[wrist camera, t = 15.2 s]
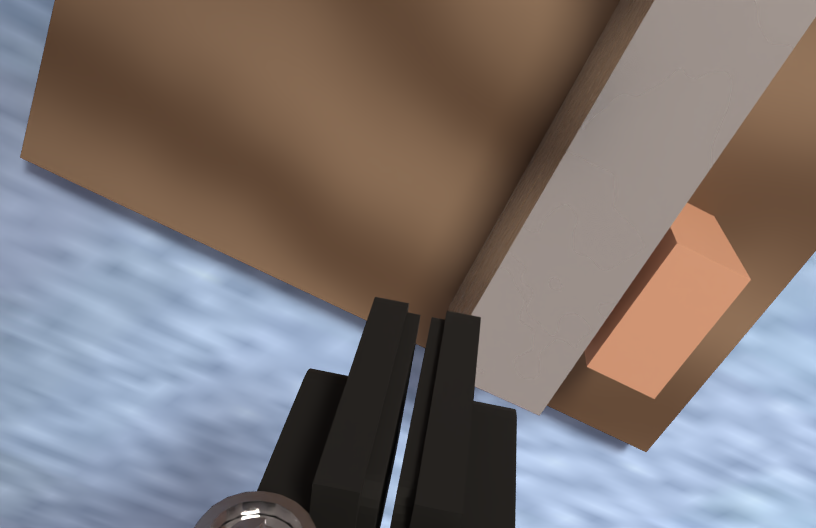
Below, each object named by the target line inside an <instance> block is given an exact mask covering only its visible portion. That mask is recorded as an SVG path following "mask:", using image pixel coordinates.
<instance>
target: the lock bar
mask: <svg viewBox="0 0 816 528" xmlns="http://www.w3.org/2000/svg"><path fill="white" fill-rule="evenodd" d="M815 17H816V0H620V2H619V4H618V6H617V7H616V9H615V11H614V13H613V14H612V16H611V18H610V20H609V22H608V23H607V25H606V27H605V29H604V31H603V32H602V34H601V36H600V38H599V39H598V41H597V43H596V45H595V47H594V48H593V50H592V52H591V54H590V55H589V57H588V59H587V61H586V63H585V64H584V66H583V68H582V70H581V72H580V73H579V75H578V77H577V79H576V80H575V82H574V84H573V86H572V88H571V89H570V91H569V93H568V95H567V96H566V98H565V100H564V102H563V104H562V105H561V107H560V109H559V111H558V112H557V114H556V116H555V118H554V120H553V121H552V123H551V125H550V127H549V129H548V130H547V132H546V134H545V136H544V137H543V139H542V141H541V143H540V145H539V146H538V148H537V150H536V152H535V153H534V155H533V157H532V159H531V161H530V162H529V164H528V166H527V168H526V169H525V171H524V173H523V175H522V177H521V178H520V180H519V182H518V184H517V186H516V187H515V189H514V191H513V193H512V194H511V196H510V198H509V200H508V202H507V203H506V205H505V207H504V209H503V210H502V212H501V214H500V216H499V218H498V219H497V221H496V223H495V225H494V226H493V228H492V230H491V232H490V234H489V235H488V237H487V239H486V241H485V243H484V244H483V246H482V248H481V250H480V251H479V253H478V255H477V257H476V259H475V260H474V262H473V264H472V266H471V267H470V269H469V271H468V273H467V275H466V276H465V278H464V280H463V282H462V284H461V285H460V287H459V289H458V291H457V292H456V294H455V296H454V298H453V300H452V301H451V303H450V305H449V311H452V312H457V313H462V314H467V315H473V316H478V317H481V324H480V335H479V345H478V356H477V367H476V377H475V387H477V388H479V389H481V390H484V391H486V392H488V393H490V394H493V395H495V396H497V397H499V398H501V399H504V400H506V401H508V402H510V403H513V404H515V405H517V406H519V407H521V408H524V409H526V410H528V411H530V412H532V413H535V414H537V415H539V416H540V414H541V413H542V411H543V410H544V408H545V407H546V406H547V404H548V403H549V401H550V400H551V398H552V397H553V396H554V394H555V393H556V391H557V390H558V388H559V387H560V385H561V384H562V383H563V381H564V380H565V378H566V377H567V375H568V374H569V372H570V371H571V370H572V368H573V367H574V365H575V364H576V362H577V361H578V359H579V358H580V357H581V355H582V354H583V352H584V351H585V349H586V348H587V346H588V345H589V344H590V342H591V341H592V339H593V338H594V336H595V335H596V333H597V332H598V331H599V329H600V328H601V326H602V325H603V323H604V322H605V320H606V319H607V318H608V316H609V315H610V313H611V312H612V310H613V309H614V307H615V306H616V305H617V303H618V302H619V300H620V299H621V297H622V296H623V294H624V293H625V292H626V290H627V289H628V287H629V286H630V284H631V283H632V281H633V280H634V279H635V277H636V276H637V274H638V273H639V271H640V270H641V268H642V267H643V266H644V264H645V263H646V261H647V260H648V258H649V257H650V255H651V254H652V253H653V251H654V250H655V248H656V247H657V245H658V244H659V242H660V241H661V240H662V238H663V237H664V235H665V234H666V232H667V231H668V229H669V228H670V227H671V225H672V224H673V222H674V221H675V219H676V218H677V216H678V215H679V214H680V212H681V211H682V209H683V208H684V206H685V205H686V203H687V202H688V201H689V199H690V198H691V196H692V195H693V193H694V192H695V190H696V189H697V188H698V186H699V185H700V183H701V182H702V180H703V179H704V177H705V176H706V175H707V173H708V172H709V170H710V169H711V167H712V166H713V164H714V163H715V162H716V160H717V159H718V157H719V156H720V154H721V153H722V152H723V150H724V149H725V147H726V146H727V144H728V143H729V141H730V140H731V139H732V137H733V136H734V134H735V133H736V131H737V130H738V128H739V127H740V126H741V124H742V123H743V121H744V120H745V118H746V117H747V115H748V114H749V113H750V111H751V110H752V108H753V107H754V105H755V104H756V102H757V101H758V100H759V98H760V97H761V95H762V94H763V92H764V91H765V89H766V88H767V87H768V85H769V84H770V82H771V81H772V79H773V78H774V76H775V75H776V74H777V72H778V71H779V69H780V68H781V66H782V65H783V63H784V62H785V61H786V59H787V58H788V56H789V55H790V53H791V52H792V50H793V49H794V48H795V46H796V45H797V43H798V42H799V40H800V39H801V37H802V36H803V35H804V33H805V32H806V30H807V29H808V27H809V26H810V24H811V23H812V22H813V20H814V19H815Z"/></svg>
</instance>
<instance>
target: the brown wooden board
mask: <svg viewBox="0 0 816 528" xmlns="http://www.w3.org/2000/svg"><path fill="white" fill-rule="evenodd" d="M619 2H620V0H55V2H54V7H53V11H52V16H51V20H50V25H49V29H48V34H47V38H46V43H45V47H44V52H43V56H42V61H41V65H40V70H39V74H38V79H37V83H36V88H35V93H34V97H33V102H32V106H31V111H30V115H29V120H28V124H27V129H26V133H25V138H24V142H23V147H22V151H21V156H20V158H22V159H24V160H26V161H28V162H31V163H33V164H35V165H37V166H39V167H41V168H43V169H45V170H48V171H50V172H52V173H54V174H56V175H58V176H60V177H62V178H65V179H67V180H69V181H71V182H73V183H75V184H77V185H79V186H82V187H84V188H86V189H88V190H90V191H92V192H94V193H96V194H99V195H101V196H103V197H105V198H107V199H109V200H111V201H113V202H116V203H118V204H120V205H122V206H124V207H126V208H128V209H130V210H133V211H135V212H137V213H139V214H141V215H143V216H145V217H147V218H150V219H152V220H154V221H156V222H158V223H160V224H162V225H164V226H167V227H169V228H171V229H173V230H175V231H177V232H179V233H181V234H184V235H186V236H188V237H190V238H192V239H194V240H196V241H198V242H201V243H203V244H205V245H207V246H209V247H211V248H213V249H215V250H218V251H220V252H222V253H224V254H226V255H228V256H230V257H232V258H235V259H237V260H239V261H241V262H243V263H245V264H247V265H249V266H252V267H254V268H256V269H258V270H260V271H262V272H264V273H266V274H269V275H271V276H273V277H275V278H277V279H279V280H281V281H283V282H286V283H288V284H290V285H292V286H294V287H296V288H298V289H300V290H303V291H305V292H307V293H309V294H311V295H313V296H315V297H317V298H320V299H322V300H324V301H326V302H328V303H330V304H332V305H334V306H337V307H339V308H341V309H343V310H345V311H347V312H349V313H351V314H354V315H356V316H358V317H360V318H362V319H364V320H366V321H367V319H368V316H369V313H370V310H371V307H372V304H373V301H374V298H375V297H380V298H385V299H390V300H395V301H400V302H405V303H409V309H408V312H409V313H414V314H419V315H421V316H420V322H419V328H418V333H417V339H416V344H417V345H419V346H422V347H424V348H426V343H427V338H428V333H429V328H430V323H431V318H432V317H434V318H440V319H445V316H446V312H447V311H449V305H450V303H451V301H452V300H453V298H454V296H455V294H456V292H457V291H458V289H459V287H460V285H461V284H462V282H463V280H464V278H465V276H466V275H467V273H468V271H469V269H470V267H471V266H472V264H473V262H474V260H475V259H476V257H477V255H478V253H479V251H480V250H481V248H482V246H483V244H484V243H485V241H486V239H487V237H488V235H489V234H490V232H491V230H492V228H493V226H494V225H495V223H496V221H497V219H498V218H499V216H500V214H501V212H502V210H503V209H504V207H505V205H506V203H507V202H508V200H509V198H510V196H511V194H512V193H513V191H514V189H515V187H516V186H517V184H518V182H519V180H520V178H521V177H522V175H523V173H524V171H525V169H526V168H527V166H528V164H529V162H530V161H531V159H532V157H533V155H534V153H535V152H536V150H537V148H538V146H539V145H540V143H541V141H542V139H543V137H544V136H545V134H546V132H547V130H548V129H549V127H550V125H551V123H552V121H553V120H554V118H555V116H556V114H557V112H558V111H559V109H560V107H561V105H562V104H563V102H564V100H565V98H566V96H567V95H568V93H569V91H570V89H571V88H572V86H573V84H574V82H575V80H576V79H577V77H578V75H579V73H580V72H581V70H582V68H583V66H584V64H585V63H586V61H587V59H588V57H589V55H590V54H591V52H592V50H593V48H594V47H595V45H596V43H597V41H598V39H599V38H600V36H601V34H602V32H603V31H604V29H605V27H606V25H607V23H608V22H609V20H610V18H611V16H612V14H613V13H614V11H615V9H616V7H617V6H618V4H619ZM687 203H689V204H691V205H693V206H695V207H697V208H699V209H701V210H703V211H705V212H707V213H708V214H710V215H712V216H714V217H715V219H716V220H717V222H718V224H719V225H720V227H721V229H722V231H723V232H724V234H725V236H726V237H727V239H728V241H729V243H730V244H731V246H732V248H733V249H734V251H735V253H736V255H737V256H738V258H739V260H740V261H741V263H742V265H743V267H744V268H745V270H746V272H747V273H748V275H749V277H750V279H751V280H750V282H749V283H748V284H747V285H746V287H745V288H744V289H743V290H742V291H741V293H740V294H739V295H738V296H737V298H736V299H735V300H734V301H733V303H732V304H731V305H730V306H729V308H728V309H727V310H726V311H725V312H724V314H723V315H722V316H721V317H720V319H719V320H718V321H717V322H716V324H715V325H714V326H713V327H712V329H711V330H710V331H709V332H708V333H707V335H706V336H705V337H704V338H703V340H702V341H701V342H700V343H699V345H698V346H697V347H696V348H695V350H694V351H693V352H692V353H691V354H690V356H689V357H688V358H687V359H686V361H685V362H684V363H683V364H682V366H681V367H680V368H679V369H678V370H677V372H676V373H675V374H674V375H673V377H672V378H671V379H670V380H669V382H668V383H667V384H666V385H665V387H664V388H663V389H662V390H661V391H660V393H659V394H658V395H657V396H656V398H655V399H653V398H651V397H649V396H647V395H645V394H643V393H641V392H639V391H636V390H634V389H632V388H630V387H628V386H626V385H624V384H622V383H620V382H618V381H616V380H613V379H611V378H609V377H607V376H605V375H603V374H601V373H599V372H597V371H595V370H593V369H590V368H588V367H587V365H586V358H585V351H584V352H583V354H582V355H581V357H580V358H579V359H578V361H577V362H576V364H575V365H574V367H573V368H572V370H571V371H570V372H569V374H568V375H567V377H566V378H565V380H564V381H563V383H562V384H561V385H560V387H559V388H558V390H557V391H556V393H555V394H554V396H553V397H552V398H551V400H550V401H549V403H548V404H547V406H549V407H551V408H553V409H555V410H558V411H560V412H562V413H564V414H566V415H568V416H570V417H572V418H575V419H577V420H579V421H581V422H583V423H585V424H587V425H589V426H592V427H594V428H596V429H598V430H600V431H602V432H604V433H606V434H609V435H611V436H613V437H615V438H617V439H619V440H621V441H623V442H626V443H628V444H630V445H632V446H634V447H636V448H638V449H640V450H643V451H645V452H647V451H648V450H649V448H650V447H651V446H652V445H653V444H654V442H655V441H656V440H657V439H658V438H659V436H660V435H661V434H662V433H663V432H664V431H665V429H666V428H667V427H668V426H669V425H670V423H671V422H672V421H673V420H674V419H675V417H676V416H677V415H678V414H679V413H680V412H681V410H682V409H683V408H684V407H685V406H686V404H687V403H688V402H689V401H690V400H691V398H692V397H693V396H694V395H695V394H696V392H697V391H698V390H699V389H700V388H701V387H702V385H703V384H704V383H705V382H706V381H707V379H708V378H709V377H710V376H711V375H712V373H713V372H714V371H715V370H716V369H717V368H718V366H719V365H720V364H721V363H722V362H723V360H724V359H725V358H726V357H727V356H728V354H729V353H730V352H731V351H732V350H733V349H734V347H735V346H736V345H737V344H738V343H739V341H740V340H741V339H742V338H743V337H744V335H745V334H746V333H747V332H748V331H749V329H750V328H751V327H752V326H753V325H754V324H755V322H756V321H757V320H758V319H759V318H760V316H761V315H762V314H763V313H764V312H765V310H766V309H767V308H768V307H769V306H770V305H771V303H772V302H773V301H774V300H775V299H776V297H777V296H778V295H779V294H780V293H781V291H782V290H783V289H784V288H785V287H786V286H787V284H788V283H789V282H790V281H791V280H792V278H793V277H794V276H795V275H796V274H797V272H798V271H799V270H800V269H801V268H802V267H803V265H804V264H805V263H806V262H807V261H808V259H809V258H810V257H811V256H812V255H813V253H814V252H815V251H816V17H815V19H814V20H813V22H812V23H811V24H810V26H809V27H808V29H807V30H806V32H805V33H804V35H803V36H802V37H801V39H800V40H799V42H798V43H797V45H796V46H795V48H794V49H793V50H792V52H791V53H790V55H789V56H788V58H787V59H786V61H785V62H784V63H783V65H782V66H781V68H780V69H779V71H778V72H777V74H776V75H775V76H774V78H773V79H772V81H771V82H770V84H769V85H768V87H767V88H766V89H765V91H764V92H763V94H762V95H761V97H760V98H759V100H758V101H757V102H756V104H755V105H754V107H753V108H752V110H751V111H750V113H749V114H748V115H747V117H746V118H745V120H744V121H743V123H742V124H741V126H740V127H739V128H738V130H737V131H736V133H735V134H734V136H733V137H732V139H731V140H730V141H729V143H728V144H727V146H726V147H725V149H724V150H723V152H722V153H721V154H720V156H719V157H718V159H717V160H716V162H715V163H714V164H713V166H712V167H711V169H710V170H709V172H708V173H707V175H706V176H705V177H704V179H703V180H702V182H701V183H700V185H699V186H698V188H697V189H696V190H695V192H694V193H693V195H692V196H691V198H690V199H689V201H688V202H687Z"/></svg>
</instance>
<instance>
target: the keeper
mask: <svg viewBox="0 0 816 528" xmlns="http://www.w3.org/2000/svg"><path fill="white" fill-rule="evenodd" d="M750 280H751V279H750V277H749V275H748V273H747V272H746V270H745V268H744V267H743V265H742V263H741V261H740V260H739V258H738V256H737V255H736V253H735V251H734V249H733V248H732V246H731V244H730V243H729V241H728V239H727V237H726V236H725V234H724V232H723V231H722V229H721V227H720V225H719V224H718V222H717V220H716V219H715V217H714V216H712V215H710V214H708V213H707V212H705V211H703V210H701V209H699V208H697V207H695V206H693V205H691V204H689V203H686V205H685V206H684V208H683V209H682V211H681V212H680V214H679V215H678V216H677V218H676V219H675V221H674V222H673V224H672V225H671V227H670V228H669V229H668V231H667V232H666V234H665V235H664V237H663V238H662V240H661V241H660V242H659V244H658V245H657V247H656V248H655V250H654V251H653V253H652V254H651V255H650V257H649V258H648V260H647V261H646V263H645V264H644V266H643V267H642V268H641V270H640V271H639V273H638V274H637V276H636V277H635V279H634V280H633V281H632V283H631V284H630V286H629V287H628V289H627V290H626V292H625V293H624V294H623V296H622V297H621V299H620V300H619V302H618V303H617V305H616V306H615V307H614V309H613V310H612V312H611V313H610V315H609V316H608V318H607V319H606V320H605V322H604V323H603V325H602V326H601V328H600V329H599V331H598V332H597V333H596V335H595V336H594V338H593V339H592V341H591V342H590V344H589V345H588V346H587V348H586V349H585V358H586V365H587V367H588V368H590V369H593V370H595V371H597V372H599V373H601V374H603V375H605V376H607V377H609V378H611V379H613V380H616V381H618V382H620V383H622V384H624V385H626V386H628V387H630V388H632V389H634V390H636V391H639V392H641V393H643V394H645V395H647V396H649V397H651V398H653V399H655V398H656V396H657V395H658V394H659V393H660V391H661V390H662V389H663V388H664V387H665V385H666V384H667V383H668V382H669V380H670V379H671V378H672V377H673V375H674V374H675V373H676V372H677V370H678V369H679V368H680V367H681V366H682V364H683V363H684V362H685V361H686V359H687V358H688V357H689V356H690V354H691V353H692V352H693V351H694V350H695V348H696V347H697V346H698V345H699V343H700V342H701V341H702V340H703V338H704V337H705V336H706V335H707V333H708V332H709V331H710V330H711V329H712V327H713V326H714V325H715V324H716V322H717V321H718V320H719V319H720V317H721V316H722V315H723V314H724V312H725V311H726V310H727V309H728V308H729V306H730V305H731V304H732V303H733V301H734V300H735V299H736V298H737V296H738V295H739V294H740V293H741V291H742V290H743V289H744V288H745V287H746V285H747V284H748V283H749V282H750Z"/></svg>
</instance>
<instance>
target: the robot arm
mask: <svg viewBox="0 0 816 528" xmlns="http://www.w3.org/2000/svg"><path fill="white" fill-rule="evenodd" d="M408 309H409V303H405V302H400V301H395V300H390V299H385V298H380V297H375V298H374V301H373V304H372V307H371V310H370V313H369V316H368V319H367V322H366V325H365V328H364V331H363V334H362V337H361V340H360V343H359V346H358V349H357V352H356V354H355V357H354V360H353V363H352V366H351V369H350V372H349V375H348V376H346V375H341V374H335V373H330V372H325V371H320V370H315V369H309V370H308V371H307V373H306V375H305V377H304V379H303V382H302V384H301V386H300V389H299V391H298V394H297V396H296V399H295V401H294V403H293V406H292V408H291V411H290V413H289V415H288V418H287V420H286V423H285V425H284V427H283V430H282V432H281V435H280V437H279V439H278V442H277V444H276V447H275V449H274V451H273V454H272V456H271V459H270V461H269V463H268V466H267V468H266V471H265V473H264V476H263V478H262V480H261V483H260V485H259V488H258V490H257V492H244V493H240V494H237V495H233V496H230V497H227V498H225V499H224V500H222V501H220V502H218V503H217V504H215V505H213V506H212V507H211V508H210V509H209V510H208V511H207V512H206V513H205V514H204V515H203V516H202V517H201V518H200V520H199V521H198V522H197V524H196V525H195V527H194V528H380V526H381V521H382V517H383V512H384V507H385V503H386V498H387V493H388V489H389V484H390V479H391V474H392V470H393V465H394V460H395V455H396V450H397V445H398V439H399V434H400V428H401V422H402V417H403V411H404V406H405V400H406V395H407V389H408V384H409V378H410V372H411V367H412V361H413V356H414V350H415V345H416V339H417V333H418V328H419V322H420V316H421V315H419V314H414V313H409V312H408ZM480 324H481V317H478V316H473V315H467V314H462V313H457V312H452V311H447V312H446V316H445V319H440V318H434V317H432V318H431V323H430V328H429V333H428V338H427V343H426V348H425V353H424V358H423V363H422V368H421V373H420V378H419V383H418V388H417V393H416V398H415V403H414V408H413V413H412V418H411V424H410V429H409V434H408V439H407V444H406V449H405V454H404V459H403V464H402V469H401V474H400V479H399V484H398V489H397V494H396V500H395V505H394V510H393V515H392V521H391V526H390V528H515V503H516V434H517V415H516V410H515V409H511V408H506V407H501V406H496V405H491V404H486V403H481V402H476V401H473V399H474V388H475V377H476V367H477V356H478V345H479V335H480Z"/></svg>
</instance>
